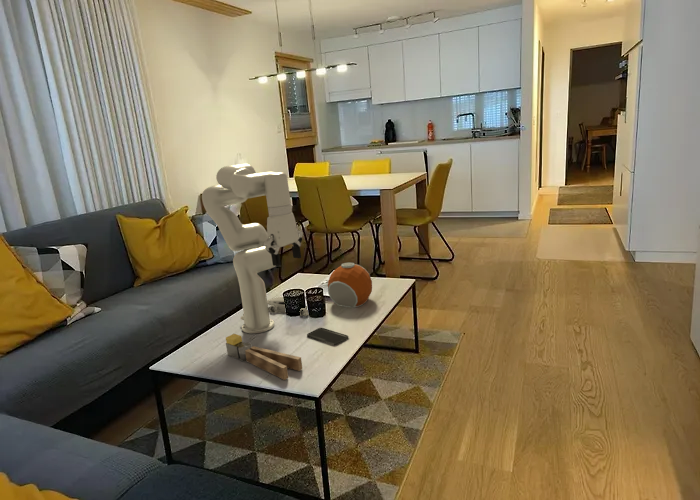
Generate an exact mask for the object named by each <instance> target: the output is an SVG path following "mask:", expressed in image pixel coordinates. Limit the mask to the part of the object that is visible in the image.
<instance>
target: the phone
mask: <svg viewBox="0 0 700 500" xmlns="http://www.w3.org/2000/svg"><path fill="white" fill-rule="evenodd" d="M306 337H307V338H309V339H312V340H315V341H318V342H320V343H324V344H327V345H330V346H333V347H337V346H339V345H340V344H342V343H344V342H346V341H347V340H349V339H350V338H349V335H347V334H343V333H341V332H337V331H334V330H331V329H327V328H324V327H319V328H318V327H317V328H316V329H314V330H312V331H310V332H309V333H307V334H306Z"/></svg>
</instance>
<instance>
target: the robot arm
mask: <svg viewBox="0 0 700 500" xmlns="http://www.w3.org/2000/svg"><path fill="white" fill-rule="evenodd" d="M215 176H216V182H217V183H218V184H215V185H211V186H209V187H206V188H205V189H203V191H202V195H201V200H202V205H203V207H204V210H205V211H206V213H207V215H208V216H209V217H210V218H211V220H212V221H213V222H214V223H215V224H216V225H217V227H218V230H219V233H220V234H221V236H222V238H223V239H224V241H225V243H226V245H227V247H228V248H229V249H230V250H231V251H233V252H237V253H236V254H235V255H234V256H233V259H232V264H233V268H234V270H235V273H236V276H237V282H238V285H239V291H240V297H241V304H242V305H241V306H242V311H243V314H242V315H241V316H240V320H241V321H243V324H242V326H241V331H243V332H244V333H246V334H260V333H264V332H267V331H270V330H271V329H273V328H274V326H275V321H274V320H273V319H271V318H270V312H269V310H268V307H269V304H268V303H267V300H268V297H267V290H266V284H265V281H264V280H263V279H262V278H261V276H260V275H258V273H260V272H263V271H267V270H270V269H273V268H275V267H280V266H282V263H281V257H280V253H279V251H280V248H282V247H286V246H288V245H289V246H290V245H292V246H291V251H292V257H293V258H294V259H301V258H302V254H301V252H302V251H301V248H300V247H301V246H302V241H303V234H304V232H303V231H302V230H299V229H298V227H297V222H296V218H295V215H294V213H293V205H292V203H291V196H290V188H289V182H288V181H289V180H288V175H287V174H286V173H285V172H283V171H279V172H278V171H276V172H275V171H265V172H258V173H256V170H255V168H254V167H253V166H252V165H251V164H249V163H240V164H231V165H226V166H223V167H221V168H220V169H218V171H217V172H216V175H215ZM262 196H265V198H266V204H267V205H266V206H267V212H268V217H267V220H266V229H265V227H264V226H263V225H262V224H260V223H259V222H251V223H246V224H244V223H242V222H241V221H240V219H239V216H238V215H237V214H236V212H233V211H232V210H231V209H228V208H227V207H225V206H233V205H237V204H242V203H245V202H246V201H247V200H248V199H252V198H257V197H262Z"/></svg>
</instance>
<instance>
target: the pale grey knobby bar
mask: <svg viewBox="0 0 700 500" xmlns="http://www.w3.org/2000/svg"><path fill="white" fill-rule="evenodd" d="M283 297H284V296H278V297H273V298H269V299H267V303H268V310H269V313H272V314H273V313H274V314H287V313H286V312H285V303H284V299H283ZM302 310H303V311H302ZM299 312H300V315H299V316H301V317H308V316H310V315H309V314H308V310H307V306H306V307H305V308H301V309H300V311H299Z"/></svg>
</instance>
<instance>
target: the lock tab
mask: <svg viewBox="0 0 700 500" xmlns="http://www.w3.org/2000/svg"><path fill="white" fill-rule="evenodd" d="M240 342H243V337H242V335H241V334H236V333H232V334H230V335H228V336H225V344H226V343H228V344H231V345H236V344H238V343H240Z"/></svg>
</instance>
